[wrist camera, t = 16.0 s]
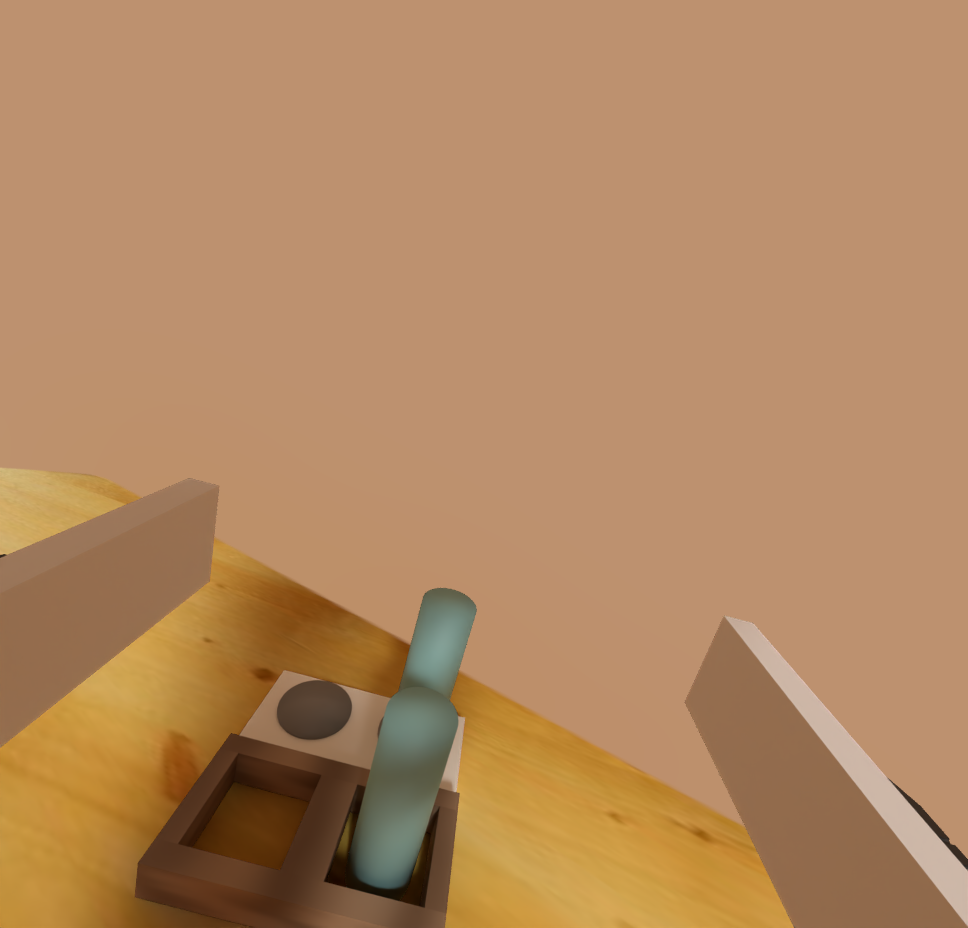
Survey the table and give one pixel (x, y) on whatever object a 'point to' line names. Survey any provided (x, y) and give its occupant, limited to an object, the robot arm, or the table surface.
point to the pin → (439, 641)
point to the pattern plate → (331, 722)
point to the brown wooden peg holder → (303, 876)
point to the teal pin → (401, 791)
